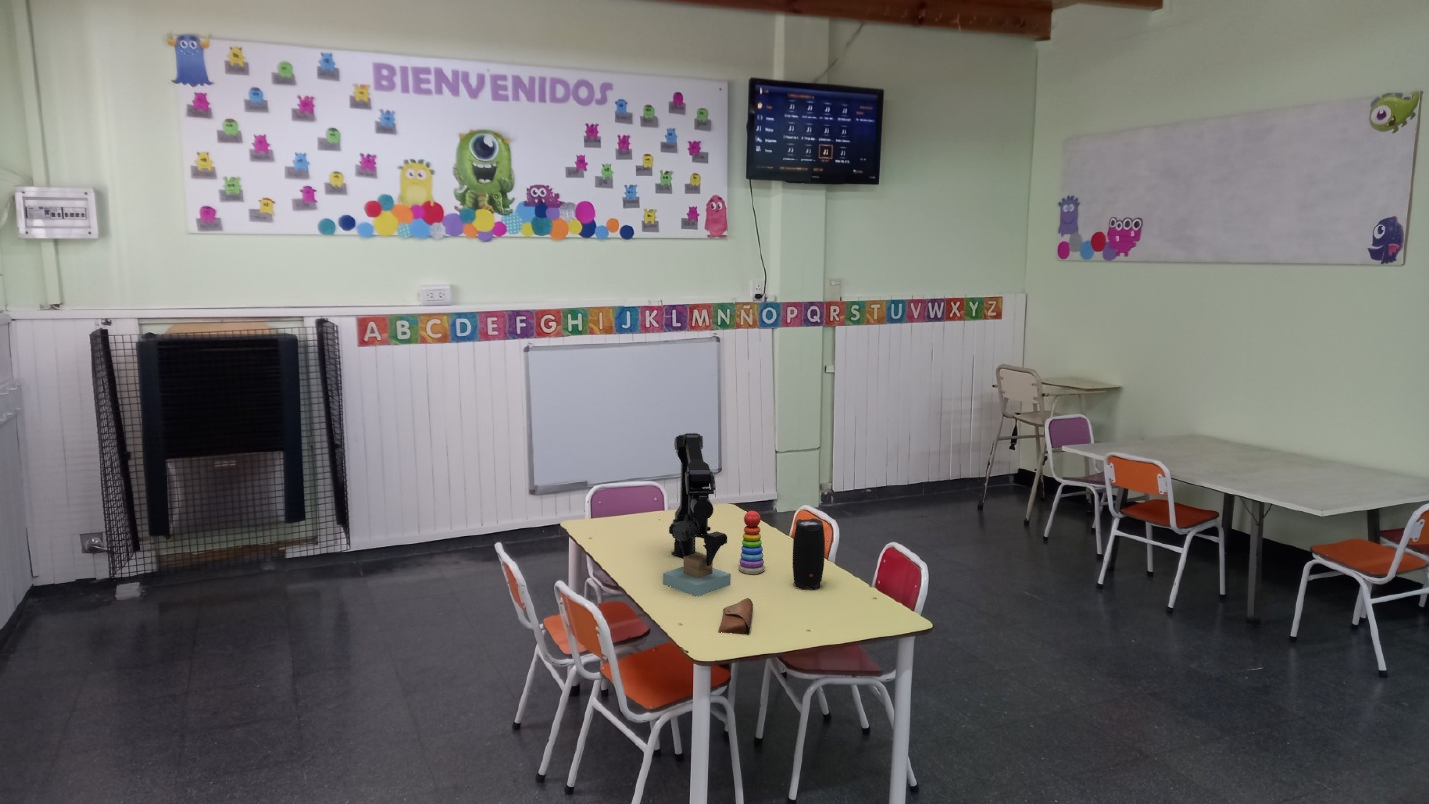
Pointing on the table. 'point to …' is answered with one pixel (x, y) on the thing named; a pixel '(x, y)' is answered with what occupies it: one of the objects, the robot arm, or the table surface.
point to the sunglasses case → (737, 618)
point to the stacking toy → (751, 545)
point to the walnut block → (697, 565)
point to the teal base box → (696, 581)
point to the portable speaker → (808, 553)
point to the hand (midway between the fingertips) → (697, 562)
